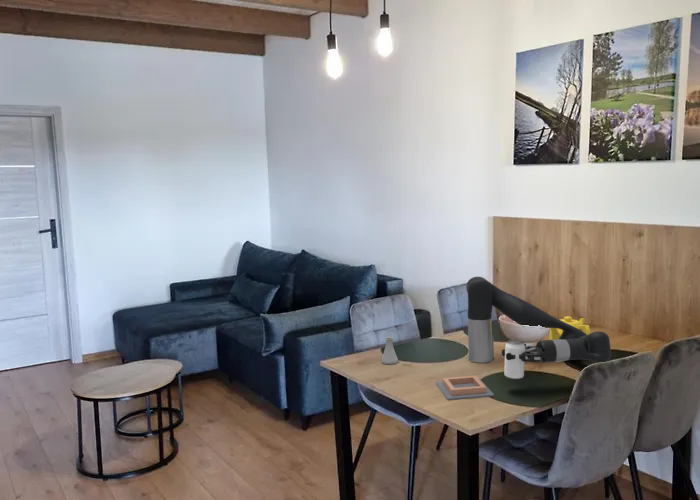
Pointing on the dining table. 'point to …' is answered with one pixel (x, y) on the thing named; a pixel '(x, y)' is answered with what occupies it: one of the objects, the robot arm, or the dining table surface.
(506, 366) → the can
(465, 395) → the tray
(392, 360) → the flask
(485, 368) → the dining table surface
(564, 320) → the teapot
